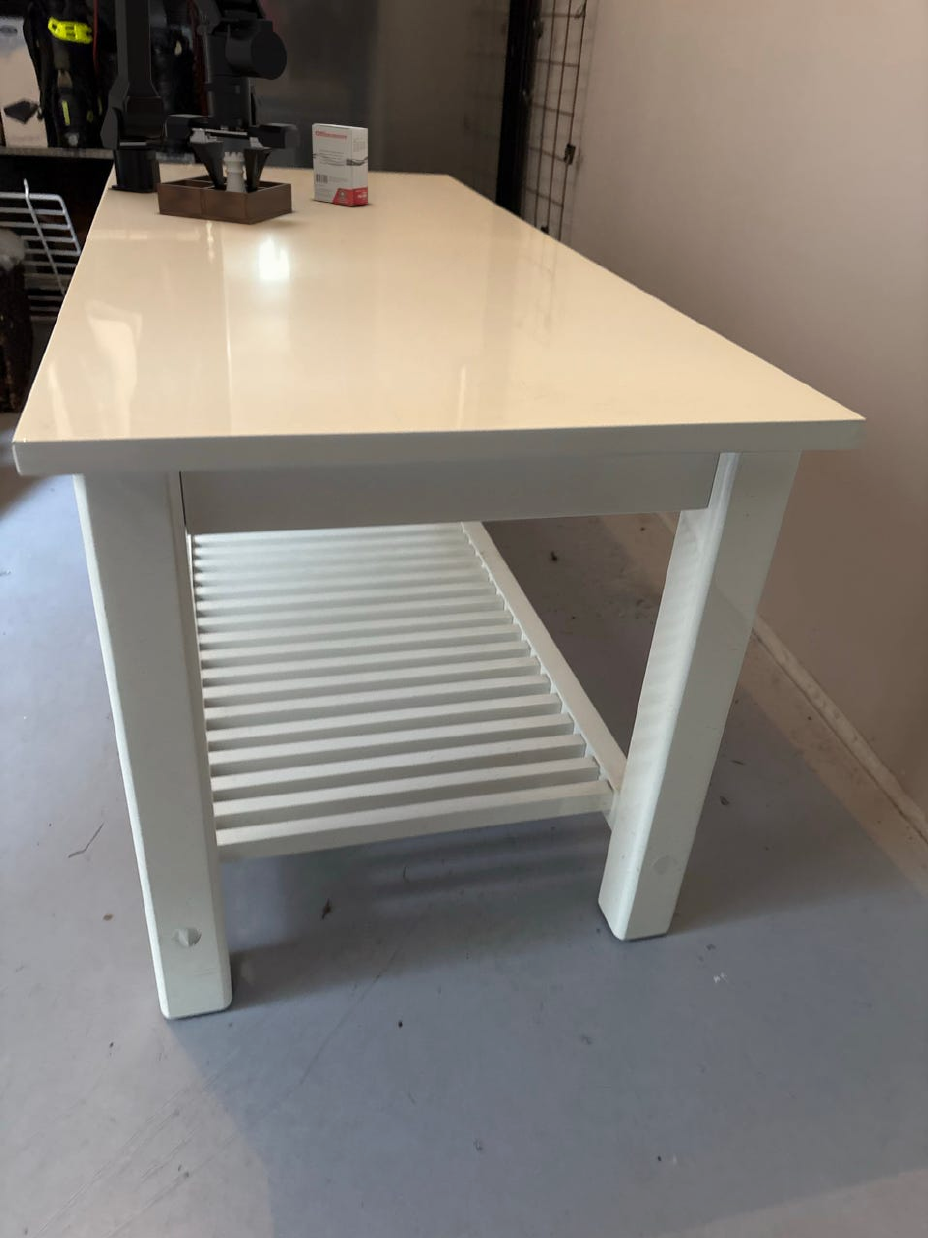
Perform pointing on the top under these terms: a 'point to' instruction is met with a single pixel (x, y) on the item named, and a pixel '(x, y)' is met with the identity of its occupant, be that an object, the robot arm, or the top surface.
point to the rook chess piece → (235, 172)
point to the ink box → (340, 164)
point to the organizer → (223, 200)
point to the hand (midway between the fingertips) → (236, 196)
